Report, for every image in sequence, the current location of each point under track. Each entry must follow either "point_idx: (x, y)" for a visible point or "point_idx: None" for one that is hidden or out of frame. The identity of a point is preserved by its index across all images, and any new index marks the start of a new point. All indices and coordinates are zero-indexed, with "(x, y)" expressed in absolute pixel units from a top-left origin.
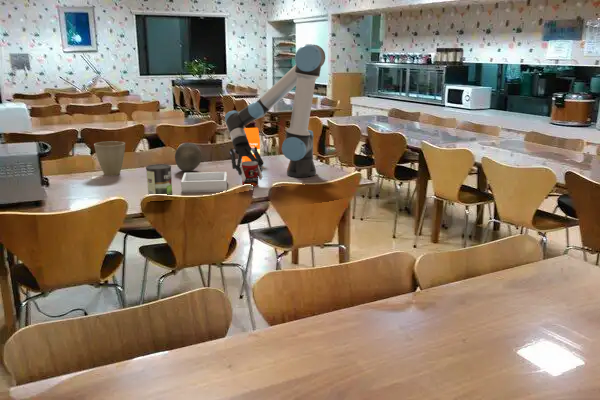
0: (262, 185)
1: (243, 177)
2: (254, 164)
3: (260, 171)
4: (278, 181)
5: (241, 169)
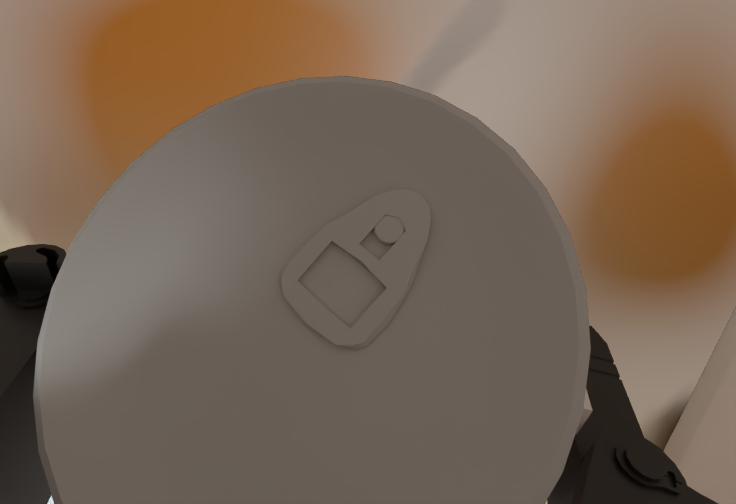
0: None
1: None
2: (318, 84)
3: None
4: None
5: None
